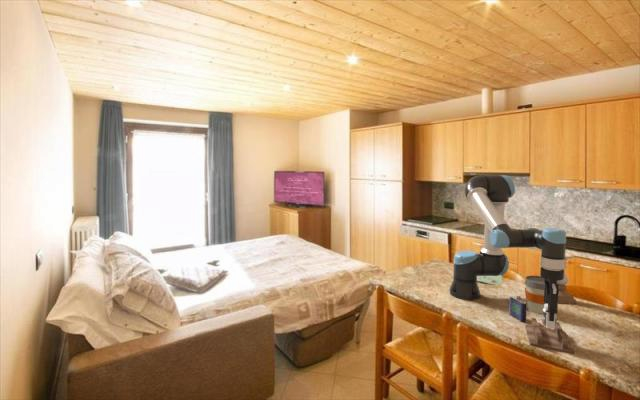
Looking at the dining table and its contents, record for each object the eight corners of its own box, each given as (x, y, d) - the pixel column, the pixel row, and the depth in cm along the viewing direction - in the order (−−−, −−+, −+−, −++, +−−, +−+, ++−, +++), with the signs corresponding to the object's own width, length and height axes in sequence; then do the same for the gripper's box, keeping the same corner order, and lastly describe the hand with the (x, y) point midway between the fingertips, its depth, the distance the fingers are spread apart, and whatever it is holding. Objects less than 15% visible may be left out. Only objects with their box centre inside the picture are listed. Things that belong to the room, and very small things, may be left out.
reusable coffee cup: (545, 318, 147) (547, 286, 146) (517, 307, 158) (519, 278, 157) (560, 312, 153) (562, 281, 152) (532, 302, 164) (534, 273, 163)
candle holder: (576, 304, 161) (579, 257, 159) (551, 302, 164) (554, 256, 161) (564, 295, 172) (567, 251, 170) (541, 294, 174) (544, 251, 172)
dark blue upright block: (507, 313, 152) (508, 292, 151) (513, 313, 152) (514, 291, 151) (522, 323, 143) (523, 300, 142) (528, 322, 143) (529, 299, 142)
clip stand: (575, 353, 119) (575, 342, 119) (530, 345, 125) (530, 334, 125) (564, 333, 133) (565, 323, 133) (525, 326, 140) (525, 316, 139)
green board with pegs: (478, 270, 217) (478, 257, 216) (511, 277, 202) (512, 263, 201) (461, 279, 201) (461, 265, 200) (496, 288, 185) (497, 273, 184)
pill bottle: (541, 321, 132) (543, 302, 131) (556, 324, 129) (557, 304, 128) (541, 326, 128) (542, 306, 127) (556, 329, 125) (557, 309, 125)
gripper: (569, 276, 117) (566, 337, 119) (558, 263, 133) (555, 317, 135) (544, 273, 120) (541, 333, 122) (537, 261, 136) (534, 314, 138)
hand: (549, 324), depth 129 cm, fingers closed on pill bottle, 5 cm apart
